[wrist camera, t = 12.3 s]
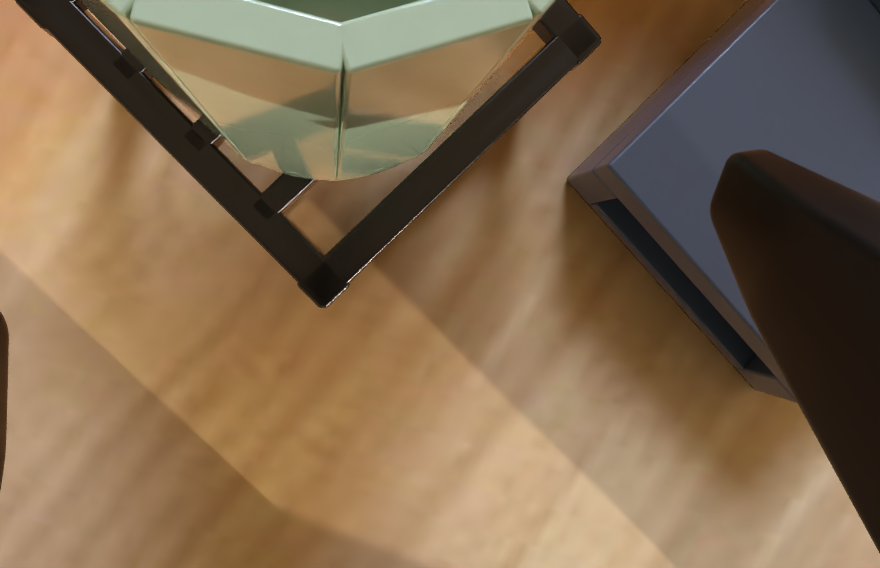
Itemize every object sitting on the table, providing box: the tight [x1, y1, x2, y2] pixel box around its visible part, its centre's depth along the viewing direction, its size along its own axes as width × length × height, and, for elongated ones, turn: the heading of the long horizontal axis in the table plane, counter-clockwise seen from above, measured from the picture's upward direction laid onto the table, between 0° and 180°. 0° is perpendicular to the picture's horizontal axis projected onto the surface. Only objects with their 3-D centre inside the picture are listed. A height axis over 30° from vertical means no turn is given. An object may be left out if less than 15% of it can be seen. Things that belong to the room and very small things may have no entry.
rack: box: [15, 0, 601, 308], centre depth 16 cm, size 8×8×6 cm
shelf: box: [567, 0, 880, 403], centre depth 18 cm, size 9×9×5 cm
